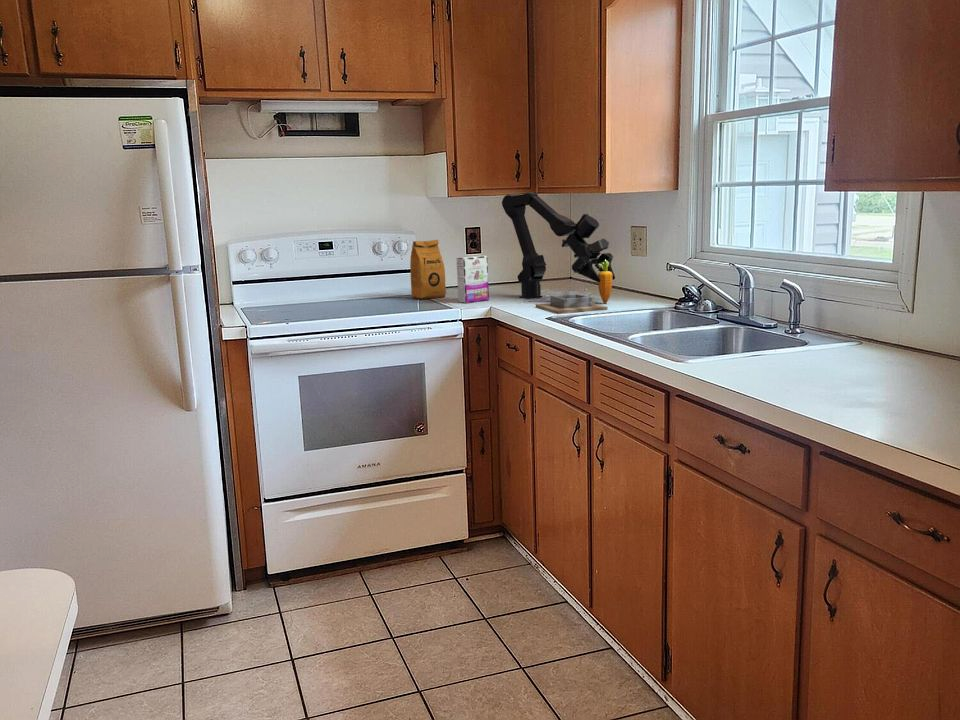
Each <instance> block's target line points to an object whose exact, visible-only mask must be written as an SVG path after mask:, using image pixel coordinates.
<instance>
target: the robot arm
mask: <svg viewBox="0 0 960 720" xmlns="http://www.w3.org/2000/svg"><path fill="white" fill-rule="evenodd" d="M501 205H502V206H501V207H502V209H503V211H504V212H505V214H506V216H508V218H509V219H511V221H512V225H513V228H514V231H515V234H516V237H517V240H518V243H519V246H520V247H519V248H520V249H521V253H522V262H521V266H522V270H521V271H520V272H519V273H518V275H517V280H518V282H520V283H521V284H520V285H521V295H519V298H524V299H537V298H543V295H541V293H542V290H541V287H542V285H541V283H540V281H543V278H544V275H545V273H546V271H547V267H546V266H547V263H546V261H545V257H544V255H543V254H539V253H537V251H536V248H535V245H534V242H533V239H532V238H533V237H532V235H531V233H530V228H529V226H528V223H527V219H526V216H525V215H526V209H527V208H526V207H527V206H529V207H531V209H533V210H534V211H535V212H536V213H537V214H538V215H539V216H541V218H542V219H544V220H545V221H546V222H547V223H548V225H549V228H550V229H551V231H552V232H553V234H554V235H555V236H557V237H566V238H564V239H561V240H562V242H561V247H562V248H566V247H569V248H570V249H571V252H573V254H574V255H573V257H574V258H575V259H576V260H575V261H574V262H573V263H572V265H571V270H572V271H573V273H574V274H578V275H581V276H584V277H586V278H587V279H590V280H592V281H594V282H596V283H598V282H600V281H601V280H600V278H599V276H598V273H597V272H596V270H595V269H594V267H593V266H595V268H596V269H597V270H598V271H599V272H601V271H603V269H602V268H601V267H600V266H599V265H598V264H601V265H602V266H603V264H602V263H603V262H604V264H605V260H607V261H608V262H609V266H608V269H607V271H610V272H612V275H613V276H612V281H613V280H614V281H615V279H616V277H615V273H614V271H613V268H612V265H611V264H612V262H613V259H614V256H613V255H612V253H611V252H603V251H604V250H607V249H608V248H609V246H610V245H609V243H610V242H609V241H608V240H607V239H605V238H601V239H598V240H596V241H595V242H594V241H593V243H588V242H587V241H586V240H585V239H590V238H591V236H592V235H593V234H594V233H595V232H596V230H597V229H598V228H599V227H600V224H599V222H598V220H597V219H595V218H594V217H592V216H590V215H589V214H588V213H583V214H582V216H581V218H580V219H579V220H578V221H577V222H574V220H573V219H570V217H567V216H565V215H562V214H560V213H559V212H557V211H556V210H555V209H554V208H552V206H550V205H549V204H548V203H547V202H546V201H544V200H543V199H542V198H541V197H540V196H539V195H538V194H537V193H536V192H526V193H523V194H507V195H505V196H504V197H503V198H502V201H501ZM601 252H603V253H601Z"/></svg>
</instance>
